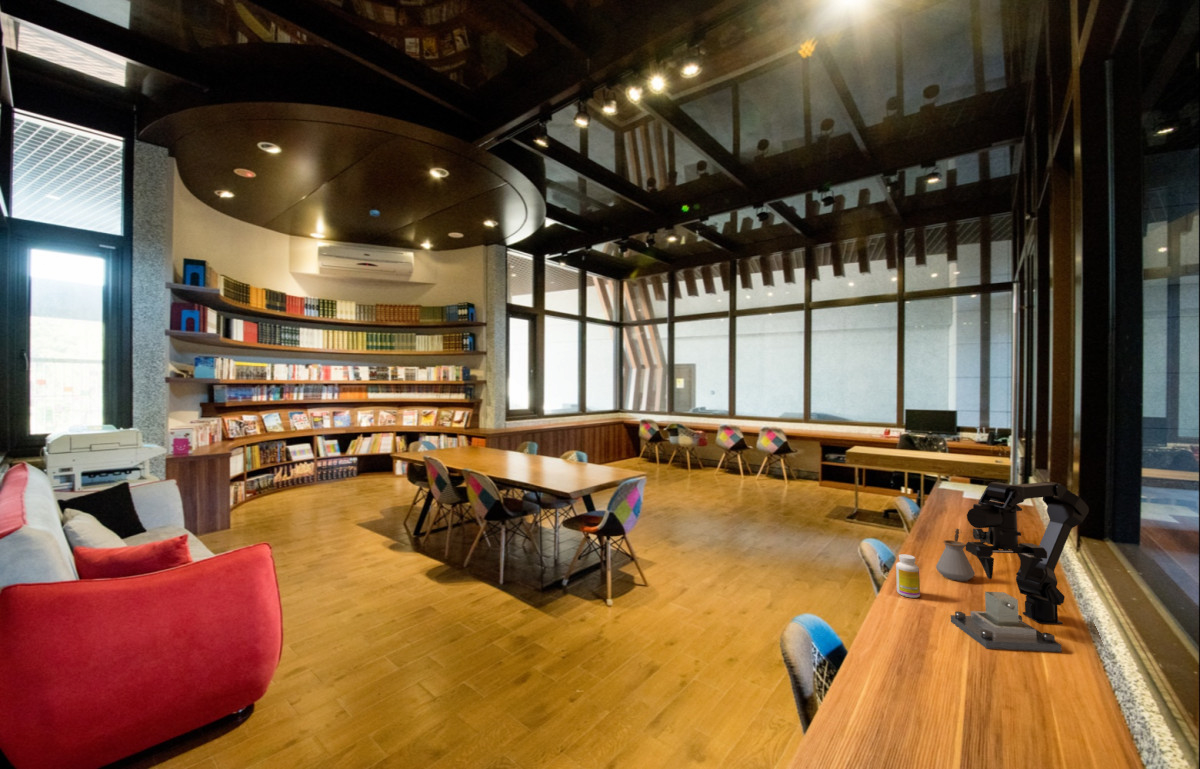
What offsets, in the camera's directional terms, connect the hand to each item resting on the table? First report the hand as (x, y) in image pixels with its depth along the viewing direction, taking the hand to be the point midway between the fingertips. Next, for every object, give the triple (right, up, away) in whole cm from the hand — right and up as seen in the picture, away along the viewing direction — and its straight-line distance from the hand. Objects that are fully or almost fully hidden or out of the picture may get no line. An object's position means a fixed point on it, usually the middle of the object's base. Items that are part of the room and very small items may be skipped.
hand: (1006, 579), depth 137 cm
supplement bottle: (-15, -14, +21) cm, 29 cm away
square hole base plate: (-8, -13, -8) cm, 17 cm away
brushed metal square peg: (-8, -11, -8) cm, 15 cm away
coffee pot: (+15, -15, +39) cm, 44 cm away
